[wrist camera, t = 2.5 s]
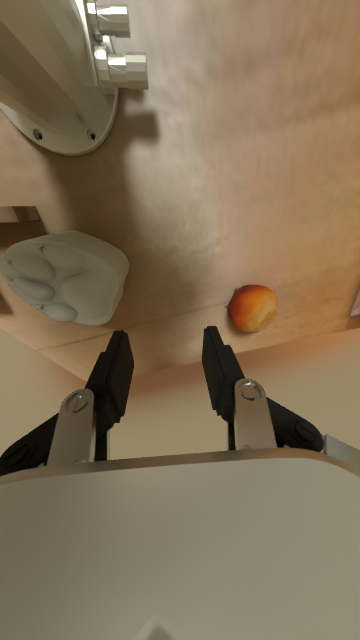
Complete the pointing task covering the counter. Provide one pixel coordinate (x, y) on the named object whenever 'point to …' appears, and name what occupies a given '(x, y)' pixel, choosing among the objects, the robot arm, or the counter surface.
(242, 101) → the counter surface
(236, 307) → the fruit
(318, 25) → the counter surface
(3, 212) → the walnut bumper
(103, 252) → the lumpy-topped squat cylinder
